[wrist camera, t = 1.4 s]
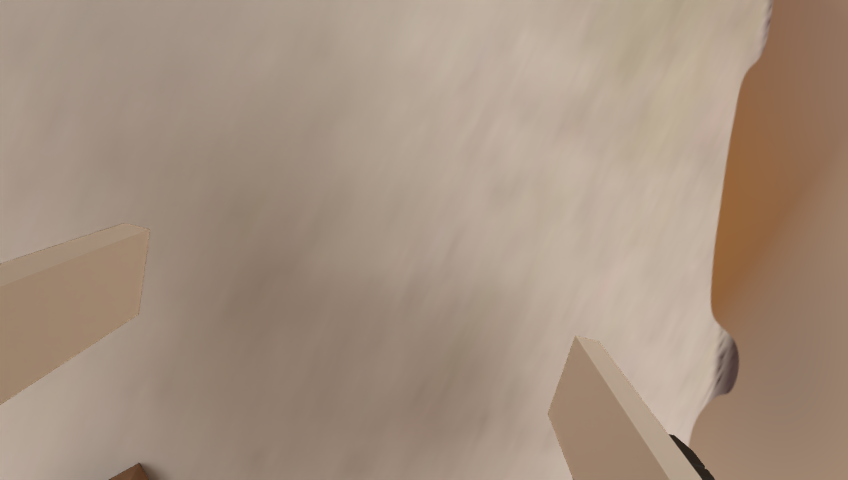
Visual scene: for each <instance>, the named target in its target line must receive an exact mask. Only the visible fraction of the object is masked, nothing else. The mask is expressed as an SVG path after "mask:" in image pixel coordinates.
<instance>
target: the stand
mask: <svg viewBox="0 0 848 480" xmlns="http://www.w3.org/2000/svg"><path fill="white" fill-rule="evenodd" d="M109 480H149V479H148V477H147V476H146V474H145V472H144V471H143V469H142V467H141V465H140V464H139V463H138V464H137V465H135V466H133V467H131V468H129V469H128V470H126V471H124V472H122V473H120V474H119V475H117V476H115V477H113V478H111V479H109Z"/></svg>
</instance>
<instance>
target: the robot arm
mask: <svg viewBox="0 0 848 480" xmlns="http://www.w3.org/2000/svg"><path fill="white" fill-rule="evenodd" d="M149 233H150V229H146V228H142V227H138V226H134V225H130V224H126V223H123V224H120V225H116V226H113V227H110V228H107V229H104V230H101V231H98V232H95V233H92V234H89V235H86V236H83V237H80V238H77V239H74V240H71V241H68V242H65V243H62V244H59V245H56V246H53V247H50V248H47V249H44V250H41V251H38V252H34V253H31V254H28V255H25V256H22V257H19V258H16V259H13V260H10V261H7V262H4V263H1V264H0V405H1V404H2V403H4V402H5V401H7V400H8V399H10V398H11V397H13V396H14V395H16V394H17V393H19V392H20V391H22V390H24V389H25V388H27V387H28V386H30V385H31V384H33V383H34V382H36V381H37V380H39V379H40V378H42V377H43V376H45V375H46V374H48V373H50V372H51V371H53V370H54V369H56V368H57V367H59V366H60V365H62V364H63V363H65V362H66V361H68V360H69V359H71V358H72V357H74V356H76V355H77V354H79V353H80V352H82V351H83V350H85V349H86V348H88V347H89V346H91V345H92V344H94V343H95V342H97V341H98V340H100V339H102V338H103V337H105V336H106V335H108V334H109V333H111V332H112V331H114V330H115V329H117V328H118V327H120V326H121V325H123V324H124V323H126V322H128V321H129V320H131V319H132V318H134V317H135V316H137V315H138V314H139V309H140V301H141V293H142V286H143V278H144V271H145V263H146V255H147V248H148V240H149ZM548 415H549V418H550V421H551V423H552V426H553V428H554V431H555V433H556V436H557V439H558V441H559V444H560V446H561V449H562V452H563V454H564V457H565V459H566V462H567V464H568V467H569V470H570V472H571V475H572V477H573V480H715V479H714V477H713V476H712V475H711V474H710V472H709V471H708V470H707V469H705V468H704V467H705V466H704V465H703V463H701V461H700V460H699V458H698V457H697V456H696V454H695V453H694V452H693V451H692V450H691V449H690V448H689V447H687V446H686V445H685V444H684V443H683V442H681V441H680V440H679V439H678V438H677V437H675V436H674V435H670V434H668V433H667V432H666V430H665V429H664V428H663V426H662V425H661V424H660V422H659V421H658V420H657V418H656V417H655V416H654V414H653V413H652V412H651V410H650V409H649V408H648V406H647V405H646V404H645V402H644V401H643V400H642V398H641V397H640V396H639V394H638V393H637V392H636V390H635V389H634V387H633V386H632V385H631V383H630V382H629V381H628V379H627V378H626V377H625V375H624V374H623V373H622V371H621V370H620V369H619V367H618V366H617V365H616V363H615V362H614V361H613V359H612V358H611V357H610V355H609V354H608V353H607V351H606V350H605V349H604V347H603V346H602V345H601V343H600V342H599V341H595V340H591V339H587V338H583V337H579V336H575V338H574V341H573V344H572V346H571V349H570V352H569V355H568V358H567V361H566V363H565V366H564V369H563V372H562V375H561V378H560V380H559V383H558V386H557V389H556V392H555V395H554V397H553V400H552V403H551V406H550V409H549V412H548Z"/></svg>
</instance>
